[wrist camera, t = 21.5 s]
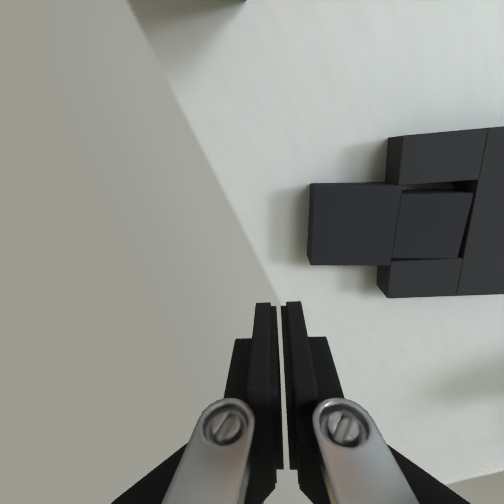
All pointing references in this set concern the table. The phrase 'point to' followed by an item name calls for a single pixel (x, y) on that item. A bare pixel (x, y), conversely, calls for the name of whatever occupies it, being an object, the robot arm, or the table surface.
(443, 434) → the table surface
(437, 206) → the pad
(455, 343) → the table surface
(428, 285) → the socket pad
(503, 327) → the table surface
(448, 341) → the table surface
